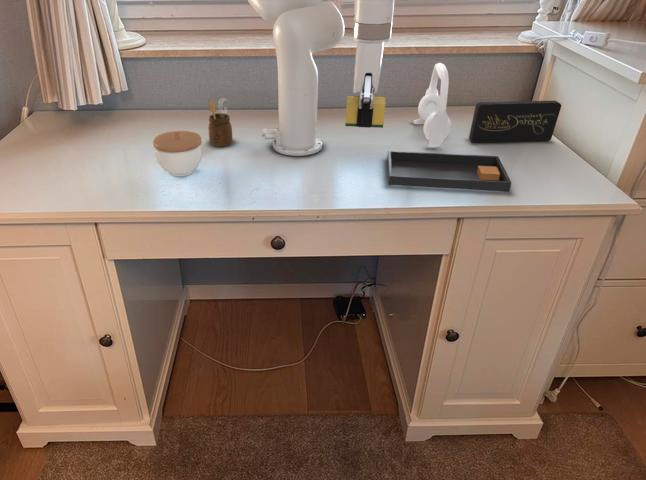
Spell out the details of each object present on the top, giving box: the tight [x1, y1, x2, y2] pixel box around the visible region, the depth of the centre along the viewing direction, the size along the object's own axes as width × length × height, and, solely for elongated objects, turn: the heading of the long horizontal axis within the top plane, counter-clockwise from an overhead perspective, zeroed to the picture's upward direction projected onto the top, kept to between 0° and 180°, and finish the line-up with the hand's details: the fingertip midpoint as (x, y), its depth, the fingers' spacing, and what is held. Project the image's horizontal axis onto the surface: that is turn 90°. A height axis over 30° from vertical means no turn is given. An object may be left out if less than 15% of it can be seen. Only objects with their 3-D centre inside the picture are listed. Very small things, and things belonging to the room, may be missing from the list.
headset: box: [413, 62, 452, 148], centre depth 131 cm, size 20×7×18 cm, turn 173°
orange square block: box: [477, 166, 500, 181], centre depth 114 cm, size 4×4×2 cm
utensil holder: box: [207, 97, 233, 148], centre depth 130 cm, size 6×6×12 cm
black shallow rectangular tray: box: [386, 150, 512, 193], centre depth 115 cm, size 25×14×3 cm, turn 82°
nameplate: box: [468, 100, 562, 144], centre depth 130 cm, size 21×2×10 cm, turn 93°
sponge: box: [344, 95, 386, 129], centre depth 110 cm, size 8×5×5 cm, turn 82°
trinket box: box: [152, 130, 203, 178], centre depth 116 cm, size 11×11×9 cm
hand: (364, 121), depth 111 cm, fingers closed on sponge, 5 cm apart
